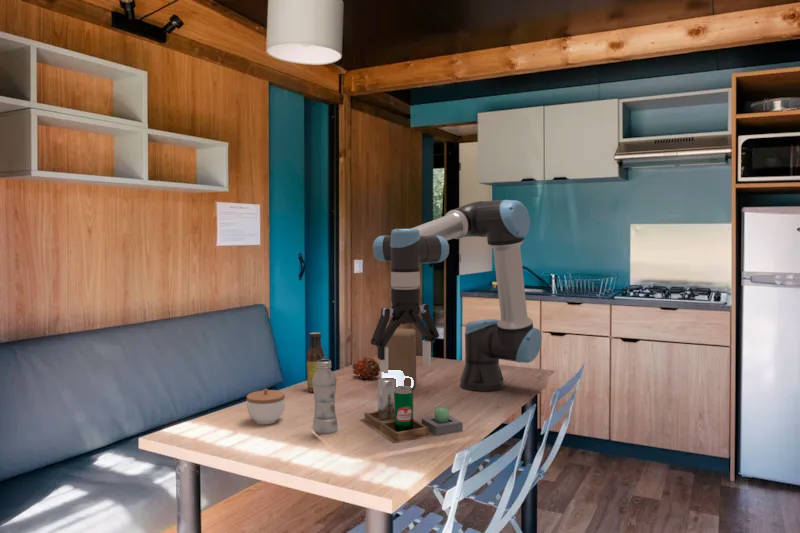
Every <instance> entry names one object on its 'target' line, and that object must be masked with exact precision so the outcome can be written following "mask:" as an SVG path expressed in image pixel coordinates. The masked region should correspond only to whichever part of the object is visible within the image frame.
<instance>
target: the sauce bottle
mask: <svg viewBox="0 0 800 533" xmlns="http://www.w3.org/2000/svg"><path fill="white" fill-rule="evenodd" d="M308 338H309V348H308V350H307V352H306V381H307V382H306V383H307V385H306V386H307V391H308V392H310V393H314V391H313V384H312V379H313V376H314V375H315V373H316V372H317V370H318V368H317V361H318V360H323V359H326V355H325V352H324V349H323V347H322V340H321V339H322V333H321V332H319V331H318V332H316V331H315V332H314V331H313V332H309V334H308Z"/></svg>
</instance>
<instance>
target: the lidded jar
mask: <svg viewBox="0 0 800 533" xmlns="http://www.w3.org/2000/svg"><path fill="white" fill-rule="evenodd" d="M285 394H286V393H285V392H283V391H282V390H278V389H277V390H275V389H268V388H263V390H258V391H253V392H250V393H248V394H247V395H246V405H247V408H246V409H247V411H248V414H249V417H250V418H251V419H252V420H253V421H254V422H255V424H257V425H262V424H265V425H272V424H275V423H276V422H278V420H279V419H280V418H281V416H282V415H283V412H284V409H285V398H286V396H285Z"/></svg>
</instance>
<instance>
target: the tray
mask: <svg viewBox="0 0 800 533" xmlns="http://www.w3.org/2000/svg"><path fill="white" fill-rule="evenodd" d="M359 421H360V422H361V423H363V424H364V425H365V426H367V427H369V428H370V429H372V430H373V432H374V431H375V432H376V433H378V435H380V436H382V437H383V438H385V439H386V440H388V441H389V442H391V443H392V444H398V443H405V442H410V441H417V440H422V439H427V438H432V437H435V435H434V434H433V433H431V432H429V428H428V427H427V426H425V425H423V424H422V422H419V421H418V420H416V419H415V418H413V429H412V430H406V431H401V432H396V431H395V430H394V419H392V420H386V421H379V420H378V410H377V411H370V412H364V417H363V418H361V419H359Z"/></svg>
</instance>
